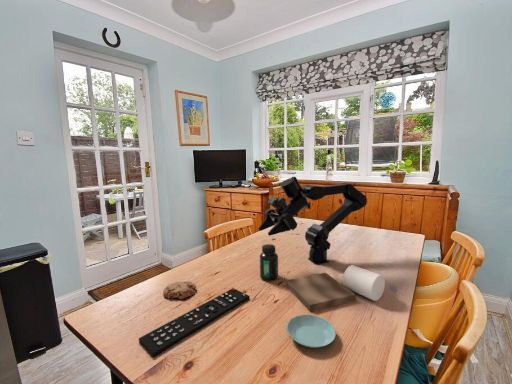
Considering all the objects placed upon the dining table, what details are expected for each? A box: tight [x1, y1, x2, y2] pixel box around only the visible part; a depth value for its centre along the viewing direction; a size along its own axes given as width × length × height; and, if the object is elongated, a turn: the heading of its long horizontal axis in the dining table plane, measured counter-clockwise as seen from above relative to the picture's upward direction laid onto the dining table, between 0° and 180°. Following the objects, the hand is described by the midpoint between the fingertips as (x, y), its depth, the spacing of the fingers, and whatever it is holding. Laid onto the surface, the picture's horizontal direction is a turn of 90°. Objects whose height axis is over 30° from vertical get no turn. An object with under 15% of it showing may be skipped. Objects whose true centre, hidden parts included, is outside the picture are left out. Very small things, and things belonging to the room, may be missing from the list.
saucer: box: [286, 314, 337, 349], centre depth 64 cm, size 12×12×2 cm
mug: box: [342, 264, 386, 302], centre depth 84 cm, size 12×10×8 cm
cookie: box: [162, 281, 197, 300], centre depth 86 cm, size 10×11×3 cm
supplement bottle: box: [259, 243, 279, 282], centre depth 95 cm, size 7×7×12 cm
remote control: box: [138, 287, 250, 358], centre depth 73 cm, size 8×32×2 cm, turn 137°
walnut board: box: [285, 272, 356, 312], centre depth 84 cm, size 16×16×2 cm
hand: (263, 232), depth 97 cm, fingers open, 9 cm apart
